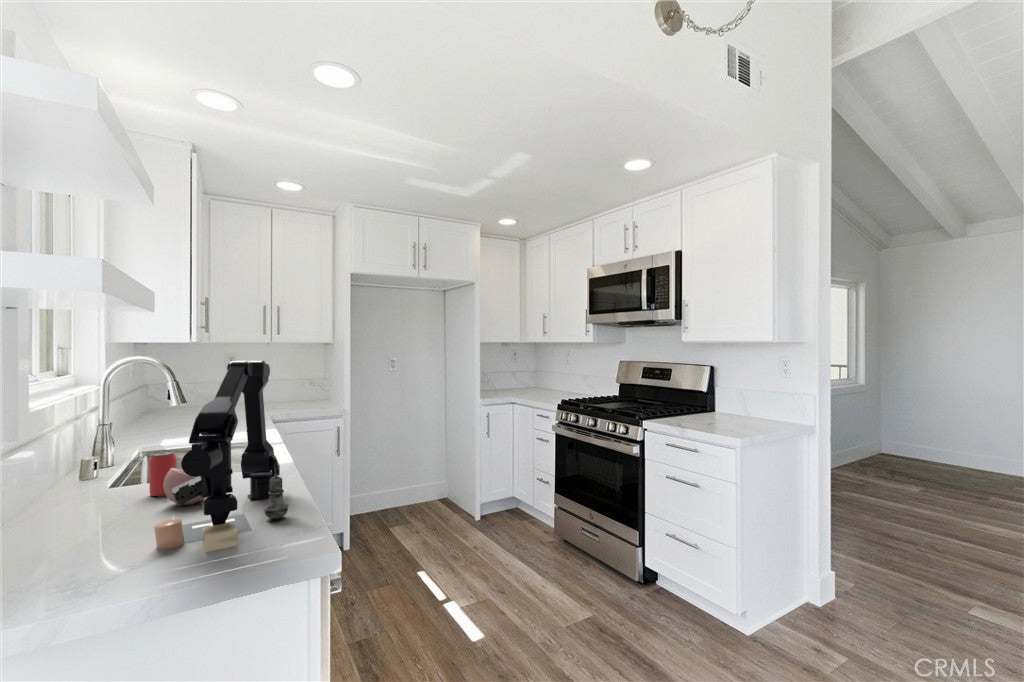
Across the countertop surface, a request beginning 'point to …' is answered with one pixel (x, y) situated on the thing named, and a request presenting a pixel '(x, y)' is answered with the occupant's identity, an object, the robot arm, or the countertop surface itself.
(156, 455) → the beer can
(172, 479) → the mortar and pestle
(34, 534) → the countertop surface
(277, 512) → the salt shaker
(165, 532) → the terracotta cylinder
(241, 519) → the letter mat
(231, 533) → the maple block
